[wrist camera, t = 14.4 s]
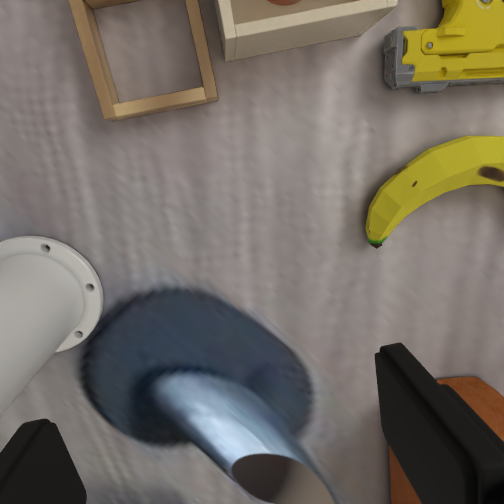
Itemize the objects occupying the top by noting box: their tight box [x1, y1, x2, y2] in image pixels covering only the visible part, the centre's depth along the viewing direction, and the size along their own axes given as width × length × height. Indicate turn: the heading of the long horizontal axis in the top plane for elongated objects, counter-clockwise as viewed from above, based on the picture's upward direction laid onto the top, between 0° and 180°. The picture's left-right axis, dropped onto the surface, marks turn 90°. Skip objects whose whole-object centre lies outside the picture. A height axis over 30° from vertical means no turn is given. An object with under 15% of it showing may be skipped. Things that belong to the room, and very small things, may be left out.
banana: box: [365, 136, 504, 249], centre depth 35 cm, size 5×17×15 cm
